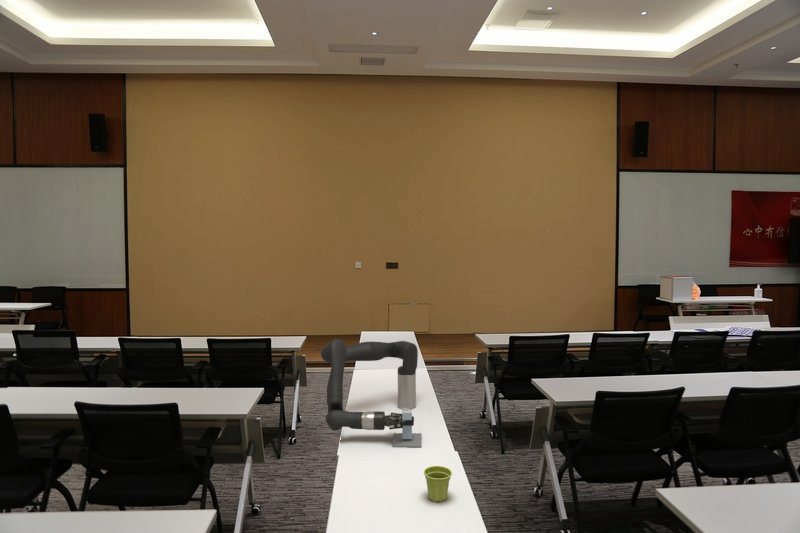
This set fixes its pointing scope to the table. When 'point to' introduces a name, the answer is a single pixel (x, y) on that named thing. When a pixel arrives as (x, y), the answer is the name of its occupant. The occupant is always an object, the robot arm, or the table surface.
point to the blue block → (407, 429)
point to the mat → (407, 441)
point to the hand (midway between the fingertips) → (413, 420)
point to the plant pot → (437, 482)
